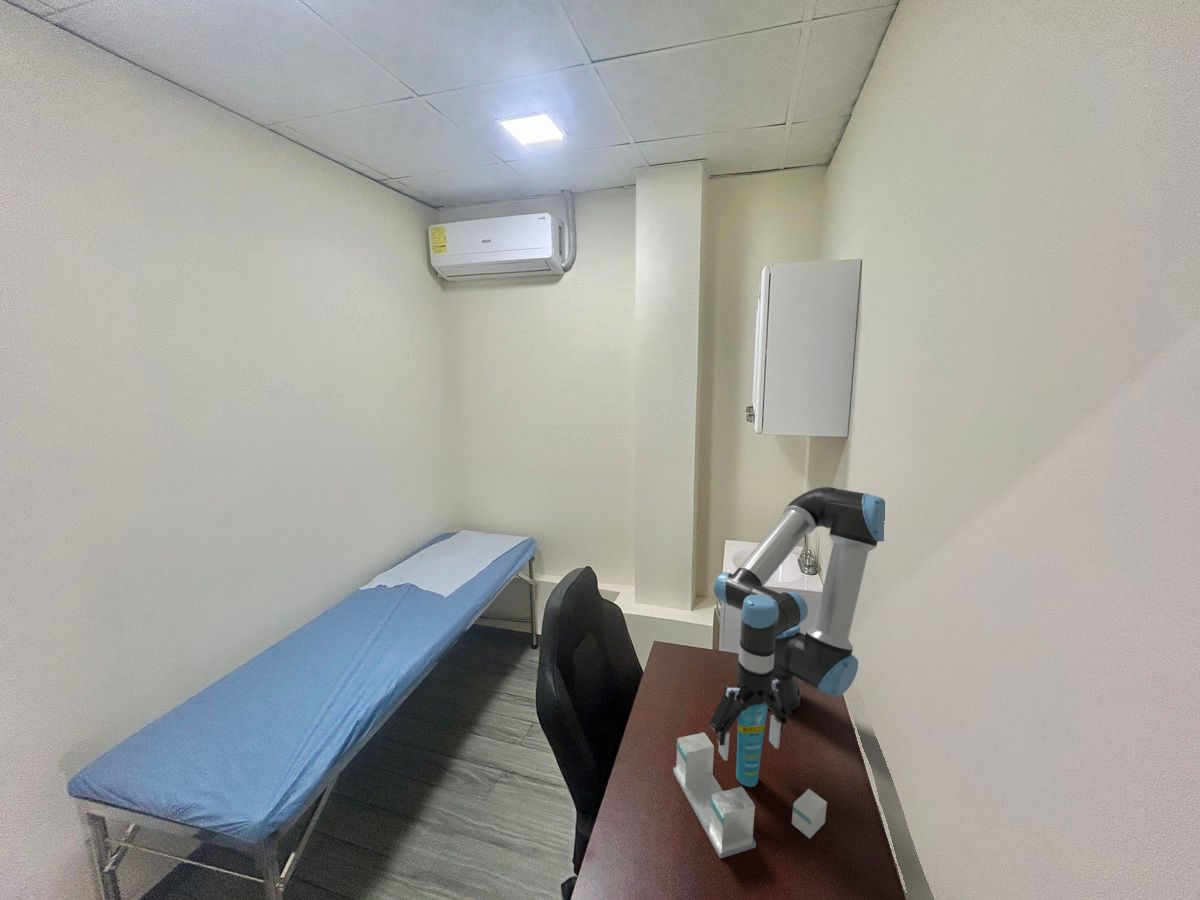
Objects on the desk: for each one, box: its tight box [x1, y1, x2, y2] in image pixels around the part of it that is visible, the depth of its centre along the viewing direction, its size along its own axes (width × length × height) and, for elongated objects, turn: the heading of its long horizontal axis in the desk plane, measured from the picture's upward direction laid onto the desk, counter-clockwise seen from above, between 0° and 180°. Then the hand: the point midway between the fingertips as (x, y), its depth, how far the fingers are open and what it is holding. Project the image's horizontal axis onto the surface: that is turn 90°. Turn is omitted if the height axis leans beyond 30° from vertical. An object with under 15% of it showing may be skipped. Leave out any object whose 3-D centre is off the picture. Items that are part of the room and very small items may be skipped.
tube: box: [735, 703, 769, 788], centre depth 106 cm, size 7×5×19 cm, turn 103°
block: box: [791, 788, 828, 839], centre depth 97 cm, size 6×4×5 cm, turn 127°
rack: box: [672, 732, 757, 859], centre depth 100 cm, size 8×21×9 cm, turn 17°
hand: (748, 750), depth 106 cm, fingers open, 13 cm apart
